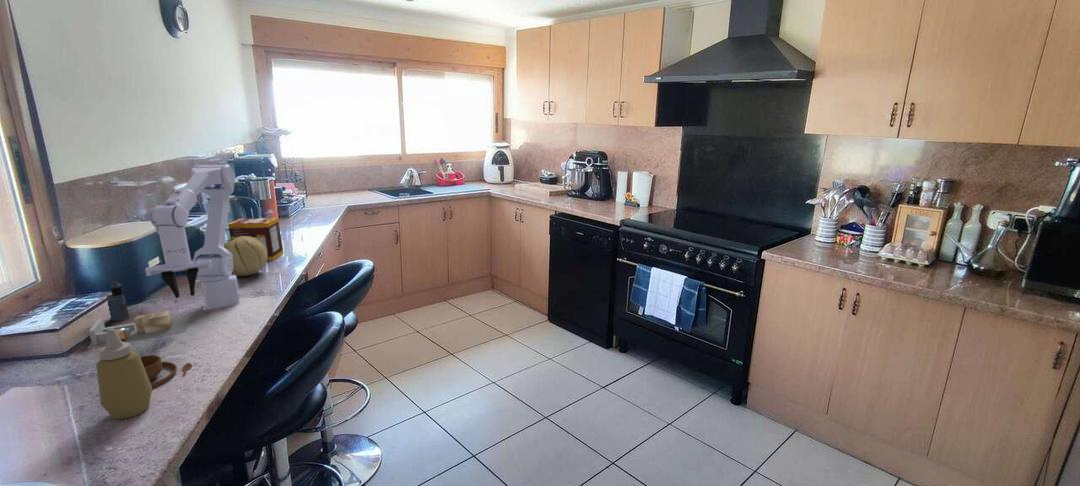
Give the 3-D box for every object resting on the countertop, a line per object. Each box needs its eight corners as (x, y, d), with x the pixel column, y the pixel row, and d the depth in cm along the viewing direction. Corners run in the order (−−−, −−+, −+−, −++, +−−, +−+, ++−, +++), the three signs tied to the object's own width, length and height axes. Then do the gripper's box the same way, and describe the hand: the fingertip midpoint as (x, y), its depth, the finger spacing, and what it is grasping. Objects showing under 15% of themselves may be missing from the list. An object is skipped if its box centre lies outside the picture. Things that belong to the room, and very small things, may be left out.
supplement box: (245, 254, 206) (239, 218, 202) (283, 253, 208) (278, 217, 203) (233, 261, 196) (226, 223, 192) (273, 260, 198) (268, 222, 193)
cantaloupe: (277, 272, 183) (271, 234, 179) (236, 284, 171) (229, 243, 167) (256, 266, 190) (250, 228, 186) (215, 276, 178) (208, 237, 174)
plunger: (128, 334, 131) (126, 326, 130) (125, 340, 128) (123, 332, 127) (116, 336, 130) (114, 328, 129) (112, 342, 127) (110, 334, 126)
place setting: (84, 405, 102) (77, 380, 101) (117, 361, 120) (111, 339, 118) (185, 386, 109) (179, 362, 108) (201, 347, 127) (197, 326, 125)
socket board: (190, 317, 143) (187, 303, 142) (185, 333, 133) (182, 318, 132) (100, 332, 134) (96, 317, 132) (87, 351, 124) (82, 334, 122)
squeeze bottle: (124, 400, 103) (104, 321, 98) (165, 398, 103) (147, 320, 99) (93, 424, 95) (70, 340, 90) (138, 422, 96) (117, 338, 91)
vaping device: (123, 323, 140) (113, 283, 136) (108, 321, 141) (98, 282, 138) (132, 319, 142) (123, 280, 139) (117, 318, 143) (108, 279, 140)
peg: (172, 323, 138) (169, 310, 137) (170, 329, 135) (167, 315, 134) (139, 329, 135) (136, 315, 133) (136, 334, 131) (132, 321, 130)
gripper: (139, 256, 126) (150, 305, 129) (206, 248, 133) (215, 295, 136) (144, 249, 132) (155, 296, 135) (208, 242, 139) (216, 287, 142)
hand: (185, 295), depth 136 cm, fingers open, 3 cm apart
